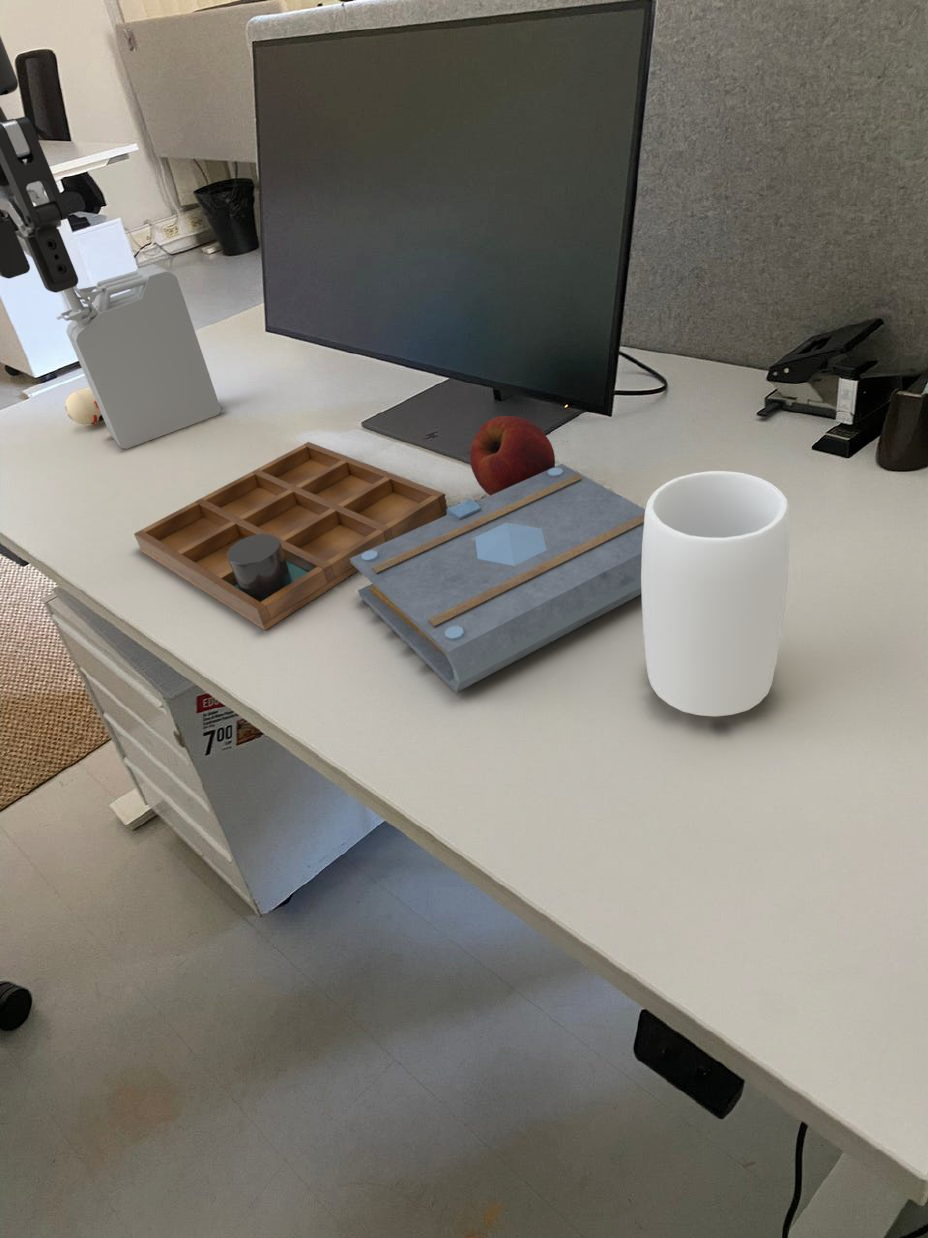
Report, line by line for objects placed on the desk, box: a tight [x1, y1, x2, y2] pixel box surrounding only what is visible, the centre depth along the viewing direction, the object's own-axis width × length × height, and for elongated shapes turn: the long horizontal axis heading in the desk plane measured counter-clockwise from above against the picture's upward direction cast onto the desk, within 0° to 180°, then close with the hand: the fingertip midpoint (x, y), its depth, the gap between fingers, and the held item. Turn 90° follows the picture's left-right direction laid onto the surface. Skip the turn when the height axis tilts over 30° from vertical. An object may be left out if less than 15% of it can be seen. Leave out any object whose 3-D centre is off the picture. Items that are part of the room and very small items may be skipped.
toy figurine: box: [64, 386, 104, 425], centre depth 110 cm, size 8×4×12 cm
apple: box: [469, 415, 556, 496], centre depth 79 cm, size 7×8×8 cm
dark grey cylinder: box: [227, 534, 292, 602], centre depth 72 cm, size 4×4×4 cm
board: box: [133, 441, 448, 631], centre depth 81 cm, size 21×21×2 cm
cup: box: [641, 470, 790, 717], centre depth 54 cm, size 8×8×14 cm
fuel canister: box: [17, 235, 222, 450], centre depth 98 cm, size 15×5×25 cm, turn 123°
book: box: [350, 463, 646, 693], centre depth 68 cm, size 21×16×5 cm
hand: (39, 281), depth 64 cm, fingers open, 8 cm apart
